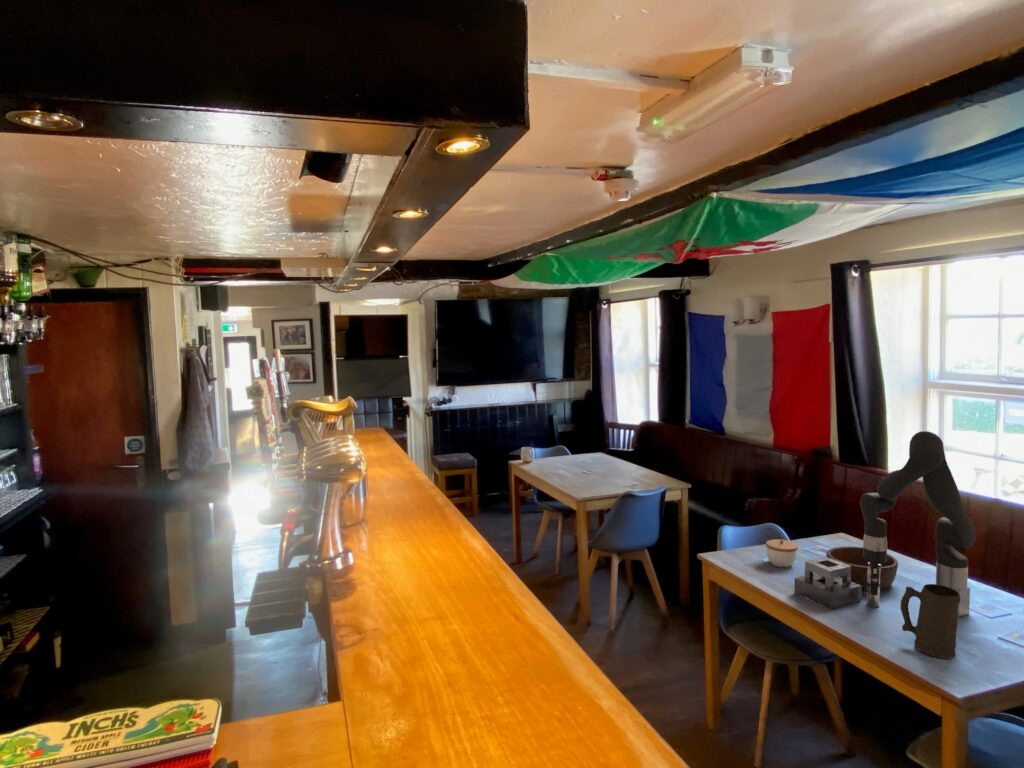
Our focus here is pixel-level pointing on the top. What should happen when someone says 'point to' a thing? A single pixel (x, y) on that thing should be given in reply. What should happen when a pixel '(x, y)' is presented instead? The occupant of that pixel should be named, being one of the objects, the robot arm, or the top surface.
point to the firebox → (828, 583)
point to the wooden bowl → (863, 565)
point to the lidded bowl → (781, 552)
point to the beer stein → (933, 619)
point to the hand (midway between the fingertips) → (873, 590)
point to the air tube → (871, 599)
